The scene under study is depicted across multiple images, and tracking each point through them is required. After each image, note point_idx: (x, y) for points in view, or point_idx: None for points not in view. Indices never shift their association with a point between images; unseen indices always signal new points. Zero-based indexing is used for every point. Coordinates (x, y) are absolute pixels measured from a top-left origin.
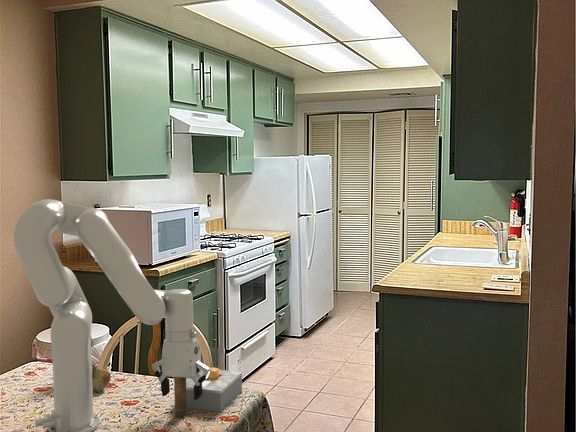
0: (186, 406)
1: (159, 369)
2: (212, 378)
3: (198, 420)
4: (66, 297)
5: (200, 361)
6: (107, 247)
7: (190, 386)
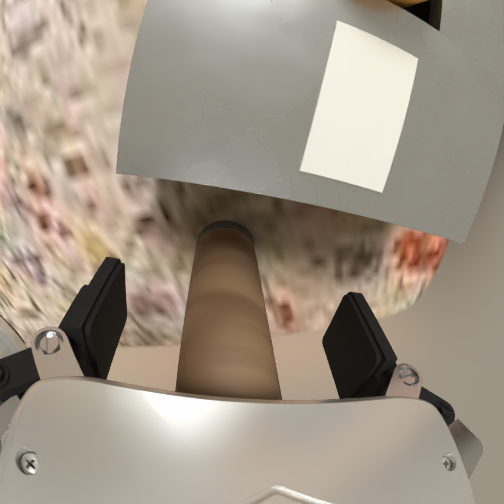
0: (257, 265)
1: (2, 410)
2: (411, 2)
3: (316, 282)
4: None
5: (464, 497)
6: None
7: (263, 172)
